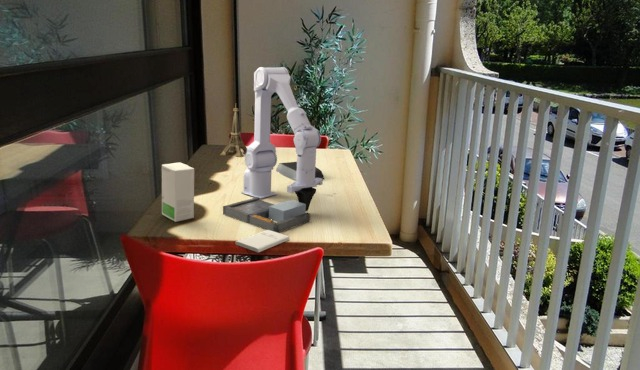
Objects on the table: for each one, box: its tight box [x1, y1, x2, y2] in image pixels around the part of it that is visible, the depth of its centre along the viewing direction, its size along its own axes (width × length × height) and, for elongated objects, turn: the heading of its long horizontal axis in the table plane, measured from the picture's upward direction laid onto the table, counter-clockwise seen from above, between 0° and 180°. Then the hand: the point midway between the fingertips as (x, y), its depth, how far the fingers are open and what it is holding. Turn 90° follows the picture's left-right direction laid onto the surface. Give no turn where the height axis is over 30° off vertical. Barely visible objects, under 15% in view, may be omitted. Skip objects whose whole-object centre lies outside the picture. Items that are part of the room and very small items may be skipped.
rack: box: [222, 197, 311, 233], centre depth 162 cm, size 23×14×3 cm, turn 51°
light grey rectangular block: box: [268, 199, 307, 223], centre depth 163 cm, size 6×10×4 cm, turn 141°
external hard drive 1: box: [235, 229, 290, 253], centre depth 143 cm, size 2×8×12 cm
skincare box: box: [161, 161, 195, 223], centre depth 158 cm, size 8×7×16 cm
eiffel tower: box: [219, 104, 247, 158], centre depth 243 cm, size 11×11×25 cm
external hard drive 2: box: [275, 161, 325, 182], centre depth 214 cm, size 13×19×4 cm
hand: (304, 210), depth 168 cm, fingers closed
